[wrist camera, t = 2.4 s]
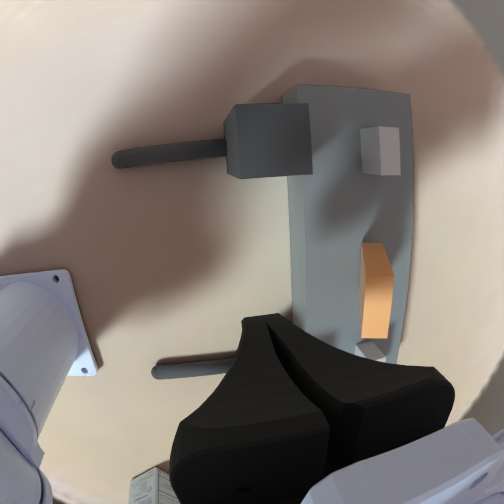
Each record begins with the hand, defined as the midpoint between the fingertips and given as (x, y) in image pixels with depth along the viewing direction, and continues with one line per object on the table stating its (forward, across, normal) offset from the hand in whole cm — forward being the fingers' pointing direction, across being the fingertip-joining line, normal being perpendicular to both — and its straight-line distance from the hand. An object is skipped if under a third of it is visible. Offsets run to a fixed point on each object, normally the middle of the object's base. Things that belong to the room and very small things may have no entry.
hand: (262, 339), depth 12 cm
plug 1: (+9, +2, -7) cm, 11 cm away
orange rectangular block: (+6, -7, 0) cm, 9 cm away
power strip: (+9, -7, 0) cm, 11 cm away
